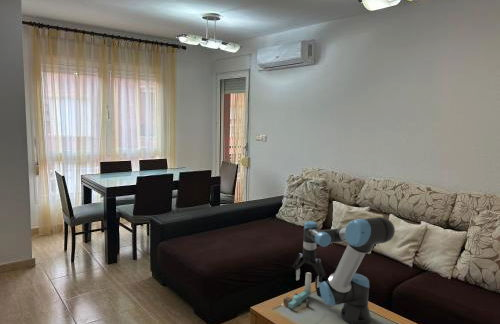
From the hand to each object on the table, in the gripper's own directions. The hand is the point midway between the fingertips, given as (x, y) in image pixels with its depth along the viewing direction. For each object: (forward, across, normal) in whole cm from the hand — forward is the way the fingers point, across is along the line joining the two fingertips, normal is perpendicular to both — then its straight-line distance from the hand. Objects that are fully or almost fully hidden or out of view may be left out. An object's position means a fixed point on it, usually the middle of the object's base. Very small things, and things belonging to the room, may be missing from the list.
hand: (307, 283), depth 211 cm
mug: (+9, -6, -10) cm, 15 cm away
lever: (+7, 0, +9) cm, 11 cm away
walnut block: (+8, +3, +16) cm, 19 cm away
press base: (+9, 0, +13) cm, 16 cm away
